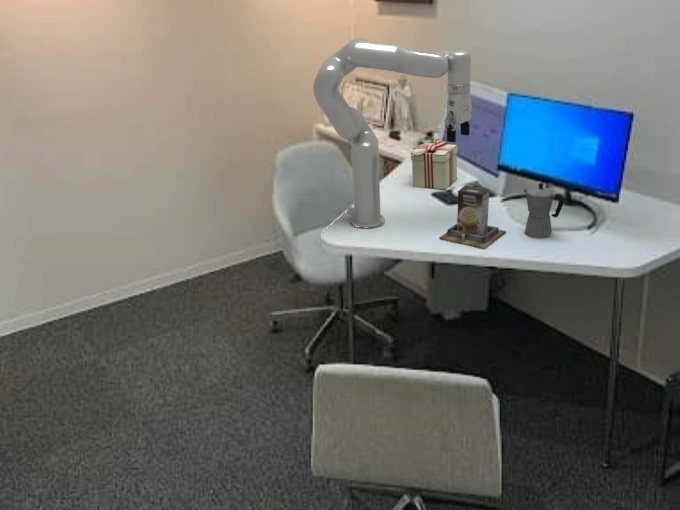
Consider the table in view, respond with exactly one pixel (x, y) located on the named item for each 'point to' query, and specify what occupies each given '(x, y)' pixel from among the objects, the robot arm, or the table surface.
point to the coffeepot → (541, 211)
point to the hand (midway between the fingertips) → (458, 138)
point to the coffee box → (473, 210)
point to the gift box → (434, 165)
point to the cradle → (473, 237)
